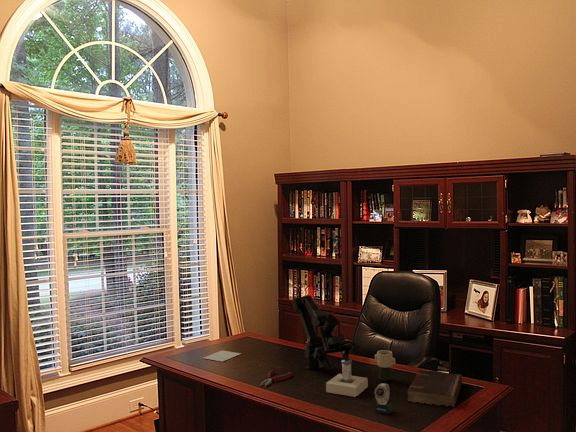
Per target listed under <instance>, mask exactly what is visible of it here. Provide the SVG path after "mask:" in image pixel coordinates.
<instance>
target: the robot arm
mask: <svg viewBox="0 0 576 432" xmlns="http://www.w3.org/2000/svg"><path fill="white" fill-rule="evenodd" d="M291 304H292V307H293V309H294V311H295V312H296V313H297V314H298V315H299V317H300V320H301V323H302V326H303V329H304V333H305V336H306V338H307V342H306V344H305V345H306V348H305V349H304V351H303V352H304V357H305V358H307V359H308V366H306V368H305V369H306V370H312V371H313V370H314V371H319V370H320V369H322V368H324V366H325V367H326V368H327V369H329V370H331V369H332V367H331V364H330V362H329V359H328V356H327V355H329V354H335V353H341V354H342V356H341V357H342V358H343V359H350V354H351V352H352V351H353V349H354V346H353V344H352V343H349V342H348V343H344V344H343V345H342V346H340V345H341V344H342V343H343V342H344V341H346V339H345V335H344V333H342V334H341V333H340V334H339V335H337V336H336V335H334V334H333V332H334V331H335V330H336V328H337V327H338V324H339V320H338V318H337V317H336V316H334V315H333V314H327V313H326V312H325V311H322V310H321V309H320V308H319V306H317V304H316V302H315V301H314V300H313V297H312V295H303V296H300V297H294V298H293V299H292V300H291ZM310 315H311V316H310ZM311 317H312V318H311ZM314 326H315V328H319V331H318V335H319V336H318V335H317V334H316V330H315V328H314ZM321 363H322V364H323V365H321Z"/></svg>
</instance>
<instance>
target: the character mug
mask: <svg viewBox="0 0 576 432" xmlns="http://www.w3.org/2000/svg"><path fill="white" fill-rule="evenodd" d="M374 361H375V362H377V364H376V365H377V366H378V367H379V369H378V380H380V381H386V382H387V381H391V380H393V373H392V369H391V367H393V366H394V365H396V358H395V357H393V352H392V351H391V350H386V349H385V350H378V351H377V352H376V354H374Z"/></svg>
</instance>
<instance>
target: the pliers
mask: <svg viewBox="0 0 576 432" xmlns="http://www.w3.org/2000/svg"><path fill="white" fill-rule="evenodd" d="M275 373H276V370H275V369H271V370H269V371H268V373H267V376H265V378H264V380H263V381H262V382H261V383H260V384H259V386H264V387H267V386H269V385H271V384H272V383H274V384H276V383H277V382H280V381H284V380H288V379H290V378H291V377H293V372H292V371H289V372H287V373H286V374H281V375H277V376H276V375H275V376H273V375H274V374H275ZM271 376H272V377H271Z"/></svg>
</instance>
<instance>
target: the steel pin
mask: <svg viewBox="0 0 576 432" xmlns="http://www.w3.org/2000/svg"><path fill="white" fill-rule="evenodd" d="M340 361H341V362H340V363H341V372H342V373H341V374H342V382H344V383H350V384H351V383H352V382H351V376H352V362H353V361H352V359H350V358H349V359H341V360H340Z"/></svg>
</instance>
